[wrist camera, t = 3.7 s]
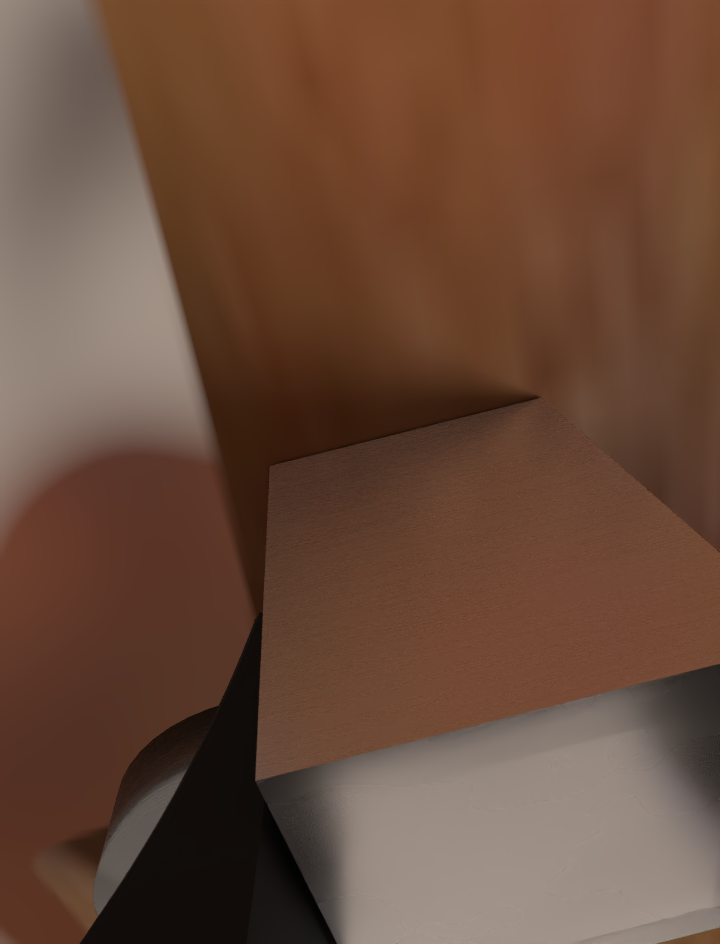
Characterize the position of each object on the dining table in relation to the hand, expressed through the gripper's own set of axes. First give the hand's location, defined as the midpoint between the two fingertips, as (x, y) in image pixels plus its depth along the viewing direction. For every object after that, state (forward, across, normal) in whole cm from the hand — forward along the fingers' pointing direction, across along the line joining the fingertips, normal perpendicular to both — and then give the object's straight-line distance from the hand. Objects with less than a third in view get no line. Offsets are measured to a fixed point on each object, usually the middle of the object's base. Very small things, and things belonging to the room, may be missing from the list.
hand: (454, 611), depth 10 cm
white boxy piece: (+2, 0, 0) cm, 2 cm away
